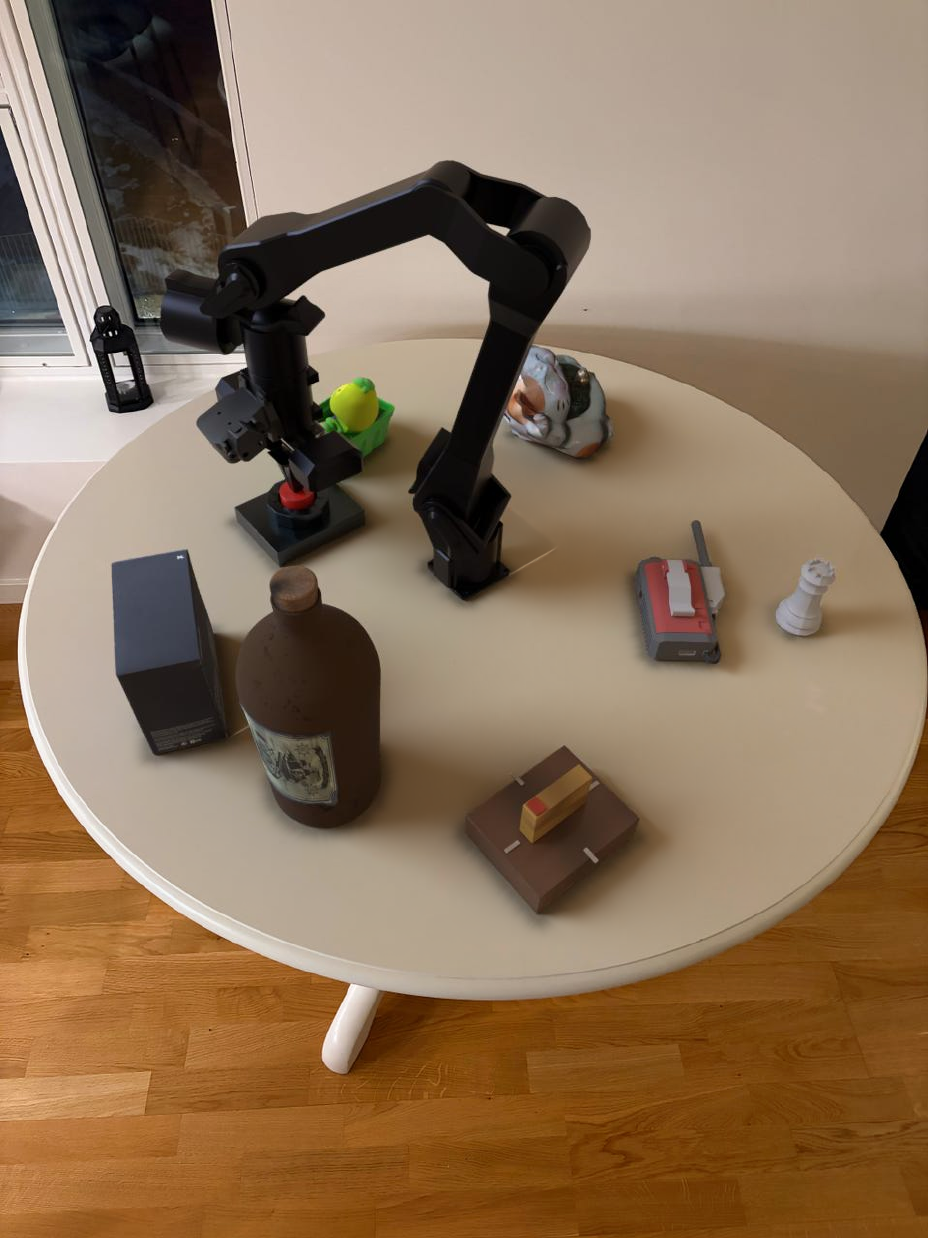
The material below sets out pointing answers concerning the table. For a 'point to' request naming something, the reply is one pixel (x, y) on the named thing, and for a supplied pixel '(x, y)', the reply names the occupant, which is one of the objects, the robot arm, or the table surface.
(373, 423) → the fruit basket
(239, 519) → the button block
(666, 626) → the walkie-talkie
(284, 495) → the button
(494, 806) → the panel
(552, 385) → the lucky cat figurine
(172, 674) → the small box
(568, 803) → the rod knob
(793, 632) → the rook chess piece
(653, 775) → the table surface
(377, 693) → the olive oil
